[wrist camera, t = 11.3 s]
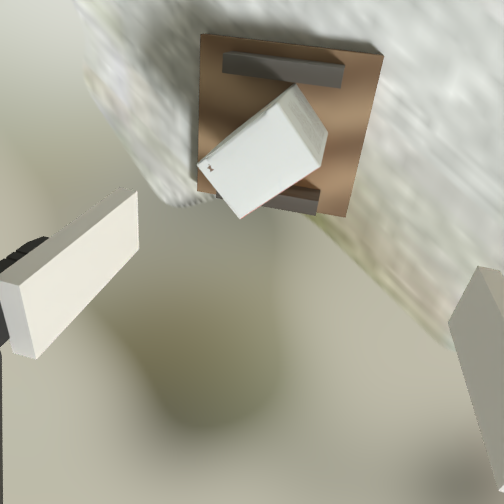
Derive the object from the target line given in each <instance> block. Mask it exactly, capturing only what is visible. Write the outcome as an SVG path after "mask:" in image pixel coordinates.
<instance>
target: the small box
mask: <svg viewBox="0 0 504 504" xmlns="http://www.w3.org/2000/svg"><path fill="white" fill-rule="evenodd" d="M327 136H328V131H327V130H326V128H325V127H324V125H323V123H322V122H321V120H320V119H319V117H318V116H317V114H316V113H315V111H314V110H313V108H312V107H311V105H310V104H309V102H308V101H307V99H306V98H305V96H304V95H303V93H302V92H301V90H300V89H299V87H298V86H297V84H296V83H294V84H293V85H291V86H290V87H289V88H288V89H286V90H285V91H284V92H283V93H281V94H280V95H279V96H278V97H276V98H275V99H274V100H273V101H271V102H270V103H269V104H268V105H266V106H265V107H264V108H263V109H261V110H260V111H259V112H257V113H256V114H255V115H254V116H252V117H251V118H250V119H249V120H247V121H246V122H245V123H244V124H242V125H241V126H240V127H238V128H237V129H236V130H235V131H233V132H232V133H231V134H230V135H228V136H227V137H226V138H225V139H224V140H223V141H222V142H220V143H219V144H218V145H217V146H216V147H215V148H214V149H212V150H211V151H210V152H209V153H208V154H207V155H206V156H205V157H204V158H203V159H202V160H200V161H199V162H198V163H197V166H198V167H199V169H200V170H201V171H202V173H203V174H204V175H205V177H206V178H207V179H208V180H209V182H210V183H211V184H212V185H213V187H214V188H215V189H216V190H217V192H218V193H219V194H220V195H221V197H222V198H223V199H224V200H225V202H226V203H227V204H228V205H229V207H230V208H231V209H232V210H233V212H234V213H235V214H236V215H237V216H238V218H239V219H242V218H243V217H245V216H246V215H248V214H249V213H251V212H252V211H254V210H255V209H257V208H258V207H260V206H261V205H263V204H264V203H266V202H268V201H269V200H271V199H272V198H274V197H275V196H277V195H278V194H280V193H281V192H283V191H284V190H286V189H287V188H289V187H291V186H292V185H294V184H295V183H297V182H298V181H300V180H301V179H303V178H304V177H306V176H307V175H309V174H310V173H312V172H313V171H315V170H317V169H318V168H320V167H321V163H322V158H323V154H324V149H325V145H326V140H327Z"/></svg>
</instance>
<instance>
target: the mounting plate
mask: <svg viewBox="0 0 504 504" xmlns="http://www.w3.org/2000/svg"><path fill="white" fill-rule="evenodd" d="M383 59H384V55H381V54H372V53H364V52H356V51H347V50H339V49H330V48H322V47H314V46H305V45H297V44H289V43H280V42H272V41H263V40H255V39H247V38H238V37H230V36H221V35H213V34H201V37H200V85H199V133H198V162H199V161H200V160H202V159H203V158H204V157H205V156H206V155H207V154H208V153H209V152H210V151H211V150H212V149H214V148H215V147H216V146H217V145H218V144H219V143H220V142H222V141H223V140H224V139H225V138H226V137H227V136H228V135H230V134H231V133H232V132H233V131H235V130H236V129H237V128H238V127H240V126H241V125H242V124H244V123H245V122H246V121H247V120H249V119H250V118H251V117H252V116H254V115H255V114H256V113H257V112H259V111H260V110H261V109H263V108H264V107H265V106H266V105H268V104H269V103H270V102H271V101H273V100H274V99H275V98H276V97H278V96H279V95H280V94H281V93H283V92H284V91H285V90H286V89H288V88H289V87H290V86H291V85H293V84H294V83H296V84H297V86H298V87H299V89H300V90H301V92H302V93H303V95H304V96H305V98H306V99H307V101H308V102H309V104H310V105H311V107H312V108H313V110H314V111H315V113H316V114H317V116H318V117H319V119H320V120H321V122H322V123H323V125H324V127H325V128H326V130H327V131H328V136H327V140H326V145H325V149H324V154H323V158H322V163H321V167H320V168H318V169H317V170H315V171H313V172H312V173H310V174H309V175H307V176H306V177H304V178H303V179H301V180H300V181H298V182H297V183H295V184H294V185H292V186H291V187H289V188H287V189H286V190H284V191H283V192H281V193H280V194H278V195H277V196H275V197H274V198H272V199H271V200H269V201H268V202H266V203H264V204H263V205H261V206H264V207H270V208H275V209H281V210H287V211H292V212H298V213H303V214H309V215H314V216H316V212H317V213H323V214H329V215H334V216H340V217H346V213H347V209H348V205H349V201H350V196H351V192H352V188H353V184H354V180H355V175H356V171H357V167H358V163H359V159H360V155H361V150H362V146H363V142H364V138H365V134H366V130H367V125H368V121H369V117H370V113H371V109H372V105H373V100H374V96H375V92H376V88H377V84H378V80H379V75H380V71H381V67H382V63H383ZM197 191H200V192H205V193H211V194H216V198H220V199H223V198H222V197H221V195H220V194H219V193H218V192H217V190H216V189H215V188H214V187H213V185H212V184H211V183H210V182H209V180H208V179H207V178H206V177H205V175H204V174H203V173H202V171H201V170H200V169H199V167H198V181H197Z"/></svg>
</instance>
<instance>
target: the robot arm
mask: <svg viewBox="0 0 504 504" xmlns="http://www.w3.org/2000/svg"><path fill="white" fill-rule="evenodd" d="M137 198H138V196H137V191H135V190H131V189H126V188H121V187H119V188H118V189H116V190H115V191H113V192H112V193H111V194H109V195H108V196H107V197H106V198H104V199H102V200H101V201H100V202H98V203H97V204H95V205H94V206H93V207H92V208H90V209H89V210H88V211H86V212H85V213H83V214H82V215H80V216H79V217H78V218H76V219H75V220H74V221H72V222H71V223H69V224H68V225H66V226H65V227H64V228H62V229H61V230H60V231H58V232H57V233H55V234H54V235H53V236H51V237H50V238H48V237H44V236H43V237H40V238H38V239H35V240H33V241H30V242H27V243H26V244H24V245H23V246H21V247H20V248H19V249H17V250H16V252H13V253H12V254H10V255H8V256H7V257H6V259H3V260H1V261H0V347H1V346H2V345H3V344H4V343H5V342H6V341H7V340H8V339H9V340H10V343H11V347H12V351H13V353H15V354H18V355H22V356H25V357H29V358H33V359H37V358H38V357H39V356H40V355H41V354H42V353H43V351H44V350H46V349H47V347H48V346H49V345H50V344H51V343H52V342H53V341H54V340H55V339H56V338H57V337H58V335H59V334H60V333H61V332H62V331H63V330H64V329H65V328H66V327H67V326H68V325H69V324H70V323H71V322H72V320H73V319H74V318H75V317H76V316H77V315H78V314H79V313H80V312H81V311H82V310H83V309H84V308H85V307H86V305H87V304H88V303H89V302H90V301H91V300H92V299H93V298H94V297H95V296H96V294H98V293H99V291H100V290H101V289H102V288H103V287H104V286H105V285H106V284H107V283H108V282H109V281H110V280H111V278H113V276H114V275H115V274H116V273H117V272H118V271H119V270H120V269H121V268H122V267H123V266H124V265H125V263H126V262H127V261H128V260H129V259H130V258H131V257H132V256H133V255H134V254H135V253H136V252H137V251H138V250H139V232H138V199H137ZM448 325H449V328H450V332H451V335H452V338H453V342H454V345H455V348H456V352H457V355H458V358H459V361H460V365H461V368H462V372H463V375H464V378H465V382H466V385H467V388H468V392H469V395H470V398H471V402H472V405H473V408H474V411H475V415H476V418H477V422H478V425H479V428H480V431H481V435H482V438H483V441H484V445H485V448H486V452H487V455H488V458H489V461H490V465H491V468H492V472H493V475H494V478H495V482H496V484H497V488H498V491H501V492H504V277H503V275H502V274H501V272H500V271H499V270H494V269H490V268H485V267H481V266H477V268H476V270H475V272H474V274H473V276H472V278H471V280H470V282H469V283H468V285H467V287H466V289H465V291H464V293H463V295H462V297H461V299H460V301H459V302H458V304H457V306H456V308H455V310H454V312H453V314H452V316H451V318H450V320H449V321H448ZM2 462H3V461H2V355H1V352H0V504H3V470H2V469H3V465H2V464H3V463H2Z"/></svg>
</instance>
